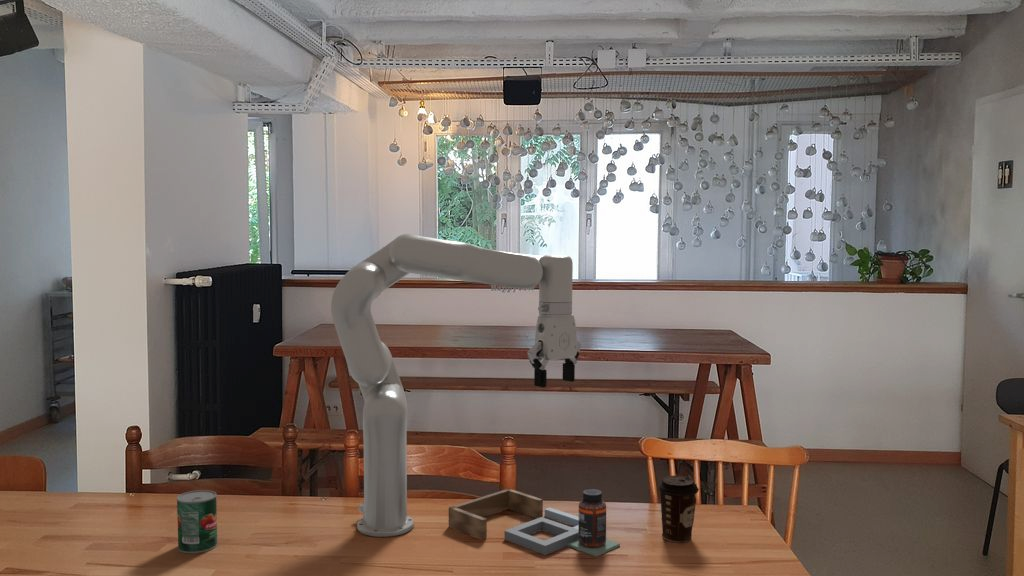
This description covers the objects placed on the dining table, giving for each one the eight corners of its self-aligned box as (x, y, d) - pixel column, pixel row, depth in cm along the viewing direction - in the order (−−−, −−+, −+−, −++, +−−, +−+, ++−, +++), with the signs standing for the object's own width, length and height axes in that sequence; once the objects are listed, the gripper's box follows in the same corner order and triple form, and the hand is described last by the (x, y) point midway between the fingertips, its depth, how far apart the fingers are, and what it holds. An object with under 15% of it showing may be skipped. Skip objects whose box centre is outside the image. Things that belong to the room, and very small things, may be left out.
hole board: (504, 539, 181) (504, 530, 181) (541, 525, 189) (541, 516, 189) (545, 555, 173) (545, 545, 172) (582, 539, 181) (582, 530, 181)
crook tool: (530, 522, 192) (530, 514, 192) (549, 514, 197) (549, 507, 197) (576, 538, 182) (576, 530, 182) (596, 530, 187) (596, 522, 187)
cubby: (448, 526, 188) (448, 507, 188) (508, 506, 202) (508, 488, 202) (482, 540, 180) (482, 520, 180) (542, 518, 194) (542, 499, 194)
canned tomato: (177, 542, 178) (176, 492, 177) (216, 537, 181) (215, 488, 180) (178, 556, 171) (177, 504, 170) (219, 550, 174) (217, 499, 173)
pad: (567, 546, 178) (567, 543, 178) (590, 536, 183) (590, 533, 183) (596, 556, 172) (596, 553, 172) (619, 546, 178) (619, 543, 178)
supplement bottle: (609, 540, 179) (610, 489, 178) (601, 550, 174) (602, 497, 173) (583, 536, 181) (583, 485, 180) (574, 546, 176) (575, 494, 175)
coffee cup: (699, 533, 185) (701, 476, 184) (695, 547, 177) (696, 487, 176) (660, 528, 188) (661, 472, 187) (654, 541, 180) (655, 483, 179)
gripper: (542, 313, 180) (541, 391, 181) (592, 308, 192) (591, 381, 193) (517, 310, 185) (516, 386, 186) (567, 305, 197) (566, 376, 199)
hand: (554, 383), depth 190 cm, fingers open, 9 cm apart
